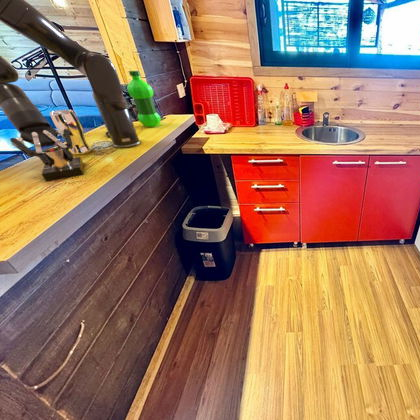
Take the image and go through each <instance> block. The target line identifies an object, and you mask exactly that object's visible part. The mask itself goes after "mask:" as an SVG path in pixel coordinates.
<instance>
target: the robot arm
mask: <svg viewBox="0 0 420 420" xmlns="http://www.w3.org/2000/svg"><path fill="white" fill-rule="evenodd" d="M0 23H2V24H4V25H5V26H7V27H9V28H10V29H11V30H13V31H15V32H16V33H18V34H20V35H22V36H23V37H25V38H26V39H28V40H30V41H32V42H33V43H35V44H37V45H39V46H41V47H42V48H44V49H46V50H48V51H50V52H52V53H53V54H54V55H56V56H58V57H59V58H61V59H62V60H63V61H64V62H66V63H68V64H69V65H70V66H72V67H73V68H74V69H75V70H76V71H78V72H80V73H81V74H82V75H84V76H85V77H86V78H87V79H88V82H89V84H90V87H91V90H92V98H93V100H94V102H95V105H96V107H97V110H98V112H99V114H100V116H101V119H102V121H101V122H100V125H104V126H105V128H106V130H107V131H106V132H105V134H104V135H105V136H106V137H108V138H110V140H111V142H112V145H113V147H114V148H121V149H122V148H130V147H135V146H137V145H140V143H141V140H140V139H139V137H138V133H137V130H136V127H135V125H134V122H133V119H132V116H131V113H130V111H129V108H128V106H127V103H126V100H125V98H124V90H123V86H122V84H121V80H120V78H119V75H118V72H117V69H116V68H115V66H114V64H113V62H112V61H111V60H110V59H109V58H108V57H106V56H105V55H103V54H100V53H96V52H93V51H90V50H89V49H87V48H86V47H84V46H82V45H81V44H79V43H78V42H76V41H75V40H73V39H72V38H71V37H69V36H68V35H66V34H65V33H64V32H63V31H62V30H61V29H59V27H57V26H56V24H54V23H53V22H52V21H51V20H50V19H48V17H47V16H46V15H44V14H43V13H42V12H41V11H40V10H38V9H37V8H36V7H34V6H33V5H32V4H31V3H29V2H28V1H26V0H0ZM18 80H19V73H18V71H17V70H16V68H15V67H14V66H13V65H12V64H11V63H10V62H8V61H7V60H6V59H5V58H4V57H3V56H2V55H0V108H1V110H2V111H3V113H4V115H5V116H6V118H7V120H8V121H10V123H11V124H12V125H13V127H14V128H15V130H16V131H17V132H18V133H19V137H16V138H15V137H11V138H9V141H10V142H11V144H12V146H13V147H15V148H17V150H19V151H21V152H22V153H23V154H25V155H26V156H27V157H29V158H34V157H37V158H39V159H40V161H41V162H42V163H43V165H49V166H52V163H51V161H50V160H49V159H48V158H47V156H46V155H45V154H44V153H43V147H46V146H54V148H62V150H63V151H64V153H65V155H66V157H67V159H68V160H69V161H73V160H72V159H73V158H74V154H72V153H71V150H70V149H72V148H73V146H72V141H71V137H70V134H69V131H68V130H67V129H64V130H63V131H58V129H57V128H54V127H53V126H52V124H50V123H49V121H48V120H47V118H46V117H45V116H44V114H43V113H42V112H41V111H40V110H39V108H38V107H37V106H36V105H35V103H33V102H32V101H31V99H30V98H29V97H28V95H27V94H26V92H25V91H24V90H23V89H22V88H21V87H19V86H18V85H16V84H13V83H16V82H18ZM58 136H61V138H63V139H64V138H65V139H66V140H65V139H64V140H65V142H66V143H64V142H62V141H61V140H60V139H59V138H58ZM24 142H25V143H26V142H27V143H28V144H31V145H33V146H34V150H32V149H31V148H30V147H28V146H26V145H25V143H24Z"/></svg>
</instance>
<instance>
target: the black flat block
mask: <svg viewBox="0 0 420 420" xmlns="http://www.w3.org/2000/svg"><path fill="white" fill-rule="evenodd" d="M72 160H73V161H69V160H68V161H69V162H70V164H71V165H70V166H68V167H65V168H61V169H54V168H52V166H49V165H45V164H43V168H42V171H41V176H42V177H43V179H44V181H46V182H49V181H54V180H55V181H56V180H61V179H66V178H71V177H77V176H83V175H84V162H83V160H82V158H81V156H76V157H73V159H72Z"/></svg>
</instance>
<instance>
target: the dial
mask: <svg viewBox="0 0 420 420" xmlns="http://www.w3.org/2000/svg"><path fill="white" fill-rule="evenodd" d="M42 153H44V154H45V155H46V156H47V158H48V159H49V160H50V161H51V163H52V168H54V169H61V168H65V167H68V166H70V165H71V164H70V162H69V161H68V159H67V157H66V155H65V153H64V151H63V150H62V148H57V147H50V148H46V149H44V150H42Z"/></svg>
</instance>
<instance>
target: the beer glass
mask: <svg viewBox="0 0 420 420" xmlns="http://www.w3.org/2000/svg"><path fill="white" fill-rule="evenodd" d="M49 116H50V118H51V120H52V123H53V124H54V127H55V129H56V130H57V131H63V130H64V129H67V130H68V131H69V134H70V137H71V141H72V146H73V148H72V149H69V151H70V152H71V153H72V155H84V154H88V153H90V152H92V148H91V147H90V145H89V143H88V142H87V139H86V137H85V133H84V129H83V126H82V124H81V122H80V120H79V117H78V116H77V114H76V112H75V111H74V110H73V109H60V110H59V109H57V110H53V111H50V112H49ZM63 139H64V140H65V141H66V139H65V138H63Z"/></svg>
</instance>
